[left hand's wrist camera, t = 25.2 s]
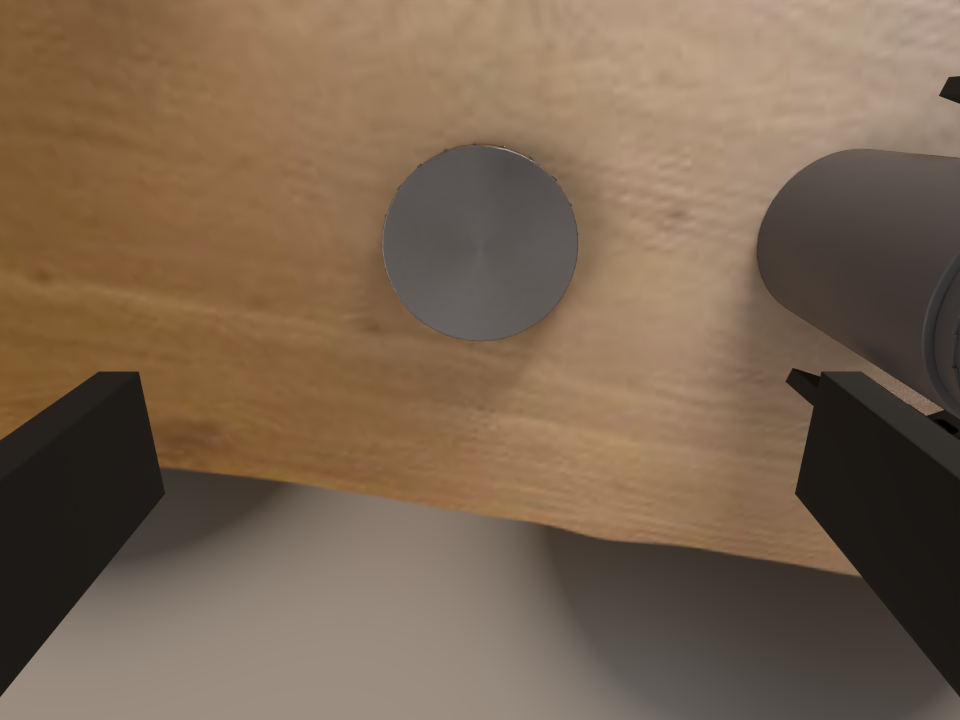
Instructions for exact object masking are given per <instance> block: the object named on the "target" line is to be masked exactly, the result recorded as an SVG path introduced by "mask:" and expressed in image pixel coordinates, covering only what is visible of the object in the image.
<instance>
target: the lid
mask: <svg viewBox="0 0 960 720" xmlns="http://www.w3.org/2000/svg"><path fill="white" fill-rule="evenodd" d="M556 181H557V180H556V179H555V178H554V177H553V176H552V177H551V176H550V175H549V174H548V173H547V172H546V171H545V170H544V169H543V168H542V167H541V166H540V165H538V164H537V163H536V162H534V159H533V158H532V157H530V158H528V157H526V156H525V155H523V154H521V153H519V152H517V151H514V150H511V149H508V148H506V146H504V145H503V147H501V146H496V145H487V144H476V143H473V145H464V146H460V147H455V148H452V149H449V150H447V149H444V151H443V152H442V153H440V154H438V155H436V156H434V157H432V158H430V159H429V160H428V161H426V162H425V163H423V164H419V165H418V166H417V169H416V170H415V171H414V172H413V173H412V174H411V175H410V176H409V177H408V178H407V179H406V180H405V182H404V183H403V184H402V185H401V186H399V187H398V189H397V190H398V191H397V193H396V195H395V196H394V198H393V200H392V202H391V205H390V207H389V209H388V212H387V214H386V215H385V217H386V219H385V223H384V229H383V236H382V250H383V258H384V264H385V268H386V272H387V275H388V277H389V280H390V282H391V285H392V287H393V289H394V290H395V292H396V294H397V296H398V297H399V299H400V300H401V301H402V303H403V304H404V305H405V307H406V308H407V309H408V310H409V311H410V312H411V313H412V314H413V315H414V316H415V317H417V318H418V319H419V320H420V321H421V322H423V323H424V324H426V325H427V326H429V327H431V328H432V329H434V330H436V331H438V332H440V333H443V334H445V335H448V336H451V337H454V338H458V339H464V340H471V341H490V340H497V339H502V338H506V337H509V336H512V335H515V334H518V333H520V332H522V331H524V330H526V329H528V328H530V327H531V326H533V325H535V324H536V323H538V322H539V321H540V320H541V319H543V318H544V317H545V316H546V315H547V314H548V313H549V312H550V311H551V310H552V309H553V308H554V307H555V306H556V304H557V303H558V302H559V300H560V299H561V298H562V296H563V295H564V293H565V291H566V289H567V287H568V286H569V283H570V281H571V278H572V276H573V273H574V269H575V265H576V261H577V253H578V233H577V226H576V221H575V218H574V214H573V211H572V208H571V207H572V205H571V204H570V203H569V201H568V199H567V197H566V196H565V194H564V192H563V191H562V189H561V187H560V186H559V185H558V184H557V183H556Z"/></svg>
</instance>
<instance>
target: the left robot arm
mask: <svg viewBox="0 0 960 720" xmlns="http://www.w3.org/2000/svg"><path fill="white" fill-rule="evenodd" d="M164 494H165V492H164V487H163V482H162V478H161V473H160V468H159V464H158V459H157V454H156V450H155V445H154V441H153V436H152V431H151V427H150V422H149V417H148V413H147V408H146V404H145V399H144V394H143V390H142V385H141V380H140V376H139V372H98V373H96V374H95V375H93V376H92V377H90V378H89V379H88V380H86V381H85V382H83V383H82V384H80V385H79V386H78V387H76V388H75V389H73V390H72V391H70V392H69V393H68V394H66V395H65V396H63V397H62V398H60V399H59V400H58V401H56V402H55V403H53V404H52V405H50V406H49V407H48V408H46V409H45V410H43V411H42V412H40V413H39V414H38V415H36V416H35V417H33V418H32V419H30V420H29V421H28V422H26V423H25V424H23V425H22V426H20V427H19V428H18V429H16V430H15V431H13V432H12V433H10V434H9V435H8V436H6V437H5V438H3V439H2V440H0V697H1V695H2V694H3V693H4V692H5V690H6V689H7V688H8V687H9V685H10V684H11V683H12V682H13V681H14V679H15V678H16V677H17V676H18V674H19V673H20V672H21V671H22V669H23V668H24V667H25V666H26V664H27V663H28V662H29V661H30V660H31V658H32V657H33V656H34V655H35V653H36V652H37V651H38V650H39V648H40V647H41V646H42V645H43V643H44V642H45V641H46V640H47V639H48V637H49V636H50V635H51V634H52V632H53V631H54V630H55V629H56V627H57V626H58V625H59V624H60V623H61V621H62V620H63V619H64V618H65V616H66V615H67V614H68V613H69V611H70V610H71V609H72V608H73V606H74V605H75V604H76V603H77V602H78V600H79V599H80V598H81V597H82V595H83V594H84V593H85V592H86V590H87V589H88V588H89V587H90V586H91V584H92V583H93V582H94V581H95V579H96V578H97V577H98V576H99V574H100V573H101V572H102V571H103V569H104V568H105V567H106V566H107V565H108V563H109V562H110V561H111V560H112V558H113V557H114V556H115V555H116V553H117V552H118V551H119V550H120V549H121V547H122V546H123V545H124V544H125V542H126V541H127V540H128V539H129V537H130V536H131V535H132V534H133V532H134V531H135V530H136V529H137V528H138V526H139V525H140V524H141V523H142V521H143V520H144V519H145V518H146V516H147V515H148V514H149V513H150V512H151V510H152V509H153V508H154V507H155V505H156V504H157V503H158V502H159V500H160V499H161V498H162V497H163V495H164ZM795 494H796V495H797V497H798V498H799V499H800V500H801V502H802V503H803V504H804V505H805V507H806V508H807V509H808V510H809V512H810V513H811V514H812V515H813V516H814V518H815V519H816V520H817V521H818V523H819V524H820V525H821V526H822V528H823V529H824V530H825V531H826V532H827V534H828V535H829V536H830V537H831V539H832V540H833V541H834V542H835V544H836V545H837V546H838V547H839V549H840V550H841V551H842V552H843V553H844V555H845V556H846V557H847V558H848V560H849V561H850V562H851V563H852V565H853V566H854V567H855V568H856V569H857V571H858V572H859V573H860V574H861V576H862V577H863V578H864V579H865V581H866V582H867V583H868V584H869V585H870V587H871V588H872V589H873V590H874V592H875V593H876V594H877V595H878V597H879V598H880V599H881V600H882V602H883V603H884V604H885V605H886V606H887V608H888V609H889V610H890V611H891V613H892V614H893V615H894V616H895V618H896V619H897V620H898V621H899V622H900V624H901V625H902V626H903V627H904V629H905V630H906V631H907V632H908V634H909V635H910V636H911V637H912V638H913V640H914V641H915V642H916V643H917V645H918V646H919V647H920V648H921V650H922V651H923V652H924V653H925V655H926V656H927V657H928V658H929V660H930V661H931V662H932V663H933V664H934V666H935V667H936V668H937V669H938V671H939V672H940V673H941V674H942V675H943V677H944V678H945V679H946V681H947V682H948V683H949V684H950V685H951V687H952V688H953V689H954V690H955V692H956V693H957V694H958V695H959V697H960V440H958V439H957V438H955V437H954V436H952V435H951V434H950V433H948V432H947V431H945V430H944V429H942V428H941V427H940V426H938V425H937V424H935V423H934V422H932V421H931V420H930V419H928V418H927V417H925V416H924V415H922V414H921V413H920V412H918V411H917V410H915V409H914V408H912V407H911V406H910V405H908V404H907V403H905V402H904V401H902V400H901V399H900V398H898V397H897V396H895V395H894V394H892V393H891V392H890V391H888V390H887V389H885V388H884V387H882V386H881V385H880V384H878V383H877V382H875V381H874V380H872V379H871V378H870V377H868V376H867V375H865V374H864V373H862V372H821V376H820V380H819V385H818V390H817V394H816V399H815V404H814V408H813V413H812V417H811V422H810V427H809V431H808V436H807V441H806V445H805V450H804V454H803V459H802V464H801V468H800V473H799V478H798V482H797V487H796V491H795Z"/></svg>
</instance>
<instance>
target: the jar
mask: <svg viewBox="0 0 960 720" xmlns="http://www.w3.org/2000/svg"><path fill="white" fill-rule="evenodd" d="M757 257H758V265H759V270H760V273H761V277H762V279H763V281H764V283H765V286H766V287H767V289H768V290H769V292H770V293H771V295H772V296H773V297H774V298H775V299H776V300H777V301H778V302H779V303H780V304H781V305H783V306H784V307H785V308H787V309H788V310H790V311H791V312H793V313H794V314H796V315H798V316H799V317H801V318H802V319H804V320H805V321H807V322H808V323H810V324H812V325H813V326H815V327H816V328H818V329H819V330H821V331H823V332H824V333H826V334H827V335H829V336H830V337H832V338H833V339H835V340H837V341H838V342H840V343H841V344H843V345H844V346H846V347H848V348H849V349H851V350H852V351H854V352H855V353H857V354H858V355H860V356H862V357H863V358H865V359H866V360H868V361H869V362H871V363H873V364H874V365H876V366H877V367H879V368H880V369H882V370H884V371H885V372H887V373H888V374H890V375H891V376H893V377H894V378H896V379H898V380H899V381H901V382H902V383H904V384H905V385H907V386H909V387H910V388H912V389H913V390H915V391H916V392H918V393H919V394H921V395H923V396H924V397H926V398H927V399H929V400H930V401H932V402H934V403H935V404H937V405H938V406H940V407H941V408H943V409H944V410H946V411H948V412H949V413H951V414H952V415H954V416H955V417H957V418H959V419H960V158H955V157H944V156H934V155H923V154H913V153H902V152H892V151H881V150H871V149H853V150H847V151H841V152H838V153H834V154H831V155H828V156H826V157H824V158H821V159H819V160H817V161H815V162H813V163H812V164H810V165H808V166H807V167H805V168H804V169H803V170H801V171H800V172H798V173H797V174H796V175H795V176H794V177H793V178H792V179H791V180H789V181H788V182H787V183H786V185H785V186H784V187H783V188H782V189H781V190H780V191H779V193H778V194H777V196H776V197H775V199H774V200H773V201H772V203H771V205H770V207H769V209H768V210H767V212H766V215H765V217H764V220H763V222H762V225H761V229H760V233H759V238H758V246H757Z"/></svg>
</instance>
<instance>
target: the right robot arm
mask: <svg viewBox="0 0 960 720" xmlns="http://www.w3.org/2000/svg"><path fill="white" fill-rule="evenodd" d="M939 96H941V97H943V98H946V99H949V100H951V101H954V102H957V103H959V104H960V76H956V77H949V78H948V80H947V82H946V83H945V85H944V87H943V89H942V91H941V93H940V95H939ZM819 380H820V376H816V375H813V374H810V373H807V372H804V371H801V370H797V369H794V368H793V369H792V370H791V372H790V374H789V376H788V378H787V380H786V382H787V383H788V384H789V385H790V386H791V387H792V388H793V389H795V390H796V391H797V392H798V393H799V394H800V395H801V396H803V397H804V398H805V399H806V400H807V401H808V402H809V403H811V404H812V405H814V404H815V399H816V394H817V390H818V385H819ZM908 405H909V404H908ZM910 406H911V405H910ZM911 407H912V406H911ZM912 408H914V407H912ZM914 409H915V408H914ZM915 410H917V409H915ZM917 411H918V410H917ZM918 412H920V411H918ZM920 413H921V412H920ZM921 414H922V415H924V414H923V413H921ZM924 416H925V417H927V418H928V419H930V420H931V421H932V422H934V423H935V424H937V425H938V426H940V427H941V428H942V429H944V430H945V431H947V432H948V433H950V434H951V435H952V436H954V437H955V438H957V439H958V440H960V419H959V418H957V417H955V416H954V415H952V414H951V413H949V412H948V411H946V410H943V411H940V412H937V413H934V414H931V415H928V416H926V415H924Z"/></svg>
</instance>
